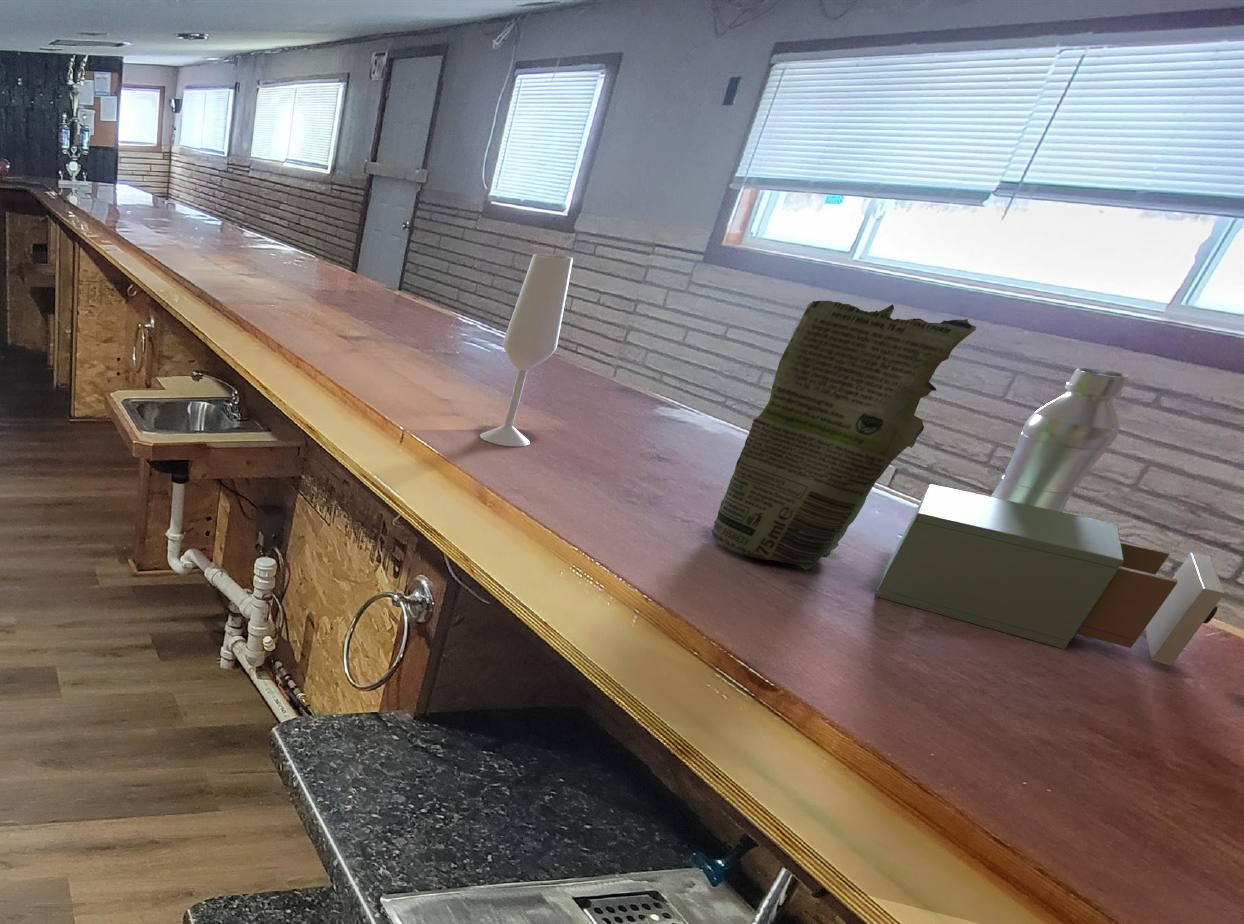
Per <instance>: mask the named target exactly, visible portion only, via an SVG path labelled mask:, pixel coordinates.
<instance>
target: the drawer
mask: <svg viewBox="0 0 1244 924" xmlns="http://www.w3.org/2000/svg"><path fill="white" fill-rule="evenodd" d="M1120 542H1121V547H1122V553H1123V559H1124V561H1123V563H1122V564H1121V566H1120V567H1119V568H1118V570H1117V572H1116V573H1115V575H1114V576H1113V578H1112V579H1111V581H1110V582H1109V584H1108V585H1107V587H1106V588H1105V590H1104V591H1103V593H1102V594H1101V596H1100V597H1099V599H1098V600H1097V602H1096V603H1095V605H1094V606H1093V608H1092V609H1091V611H1090V612H1089V614H1088V615H1087V617H1086V618H1085V620H1084V621H1083V623H1082V624H1081V626H1080V627H1079V629H1078V630H1077V632H1076V633H1075V634H1076V635H1081V636H1084V637H1089V638H1091V639H1095V640H1099V641H1103V642H1107V643H1110V644H1114V645H1118V646H1121V647H1125V648H1128V649H1130V648H1133V647H1134V645H1135V643H1136V642H1137V640H1138V639H1139V638H1140V637H1141V635H1142V634H1143V633H1144V631H1145V634H1146V639H1147V645H1148V650H1149V654H1150V655H1149V656H1150V660H1151V661H1153V662H1157V663H1161V664H1164V665H1168V666H1172V665H1173V664H1174V662H1175V661H1176V660H1177V658H1178V657H1179V656H1180V654H1181V653H1182V652H1183V650H1184V649H1185V648H1186V646H1187V645H1188V644H1189V642H1190V641H1191V640H1192V638H1193V637H1194V636H1195V634H1196V633H1197V632H1198V630H1199V629H1200V627H1201V626H1202V625H1203V624H1208V623H1210V622H1211V621H1212V619H1213V618H1214V617H1215V615H1216V614H1217V612H1218V603H1219V602H1220V601H1221V599H1222V598H1223V597H1224V595H1225V590H1224V587H1223V586H1222V582H1221V581H1220V577H1219V575H1218V573H1217V571H1216V567H1215V565H1214V563H1213V560H1212V558H1211V556H1210V555H1205V554H1201V553H1196V552H1190V553H1189V554H1188V556H1187V557H1186V558H1185V560H1184V562H1183V563H1182V564H1181V566H1180V567H1179V569H1177V571H1176V573H1175V574H1174V575H1173V577H1167V576H1163V575H1160V574H1159V575H1158V574H1157V573H1158V572H1159V570H1160V569H1161V568H1162V566H1163V565H1164V563H1165V562H1166V560H1167V559H1168V558H1169V556H1170V552H1169V551H1167V550H1163V549H1158V548H1154V547H1149V546H1145V545H1140V544H1137V543H1136V544H1135V543H1131V542H1126V541H1122V540H1120Z"/></svg>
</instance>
